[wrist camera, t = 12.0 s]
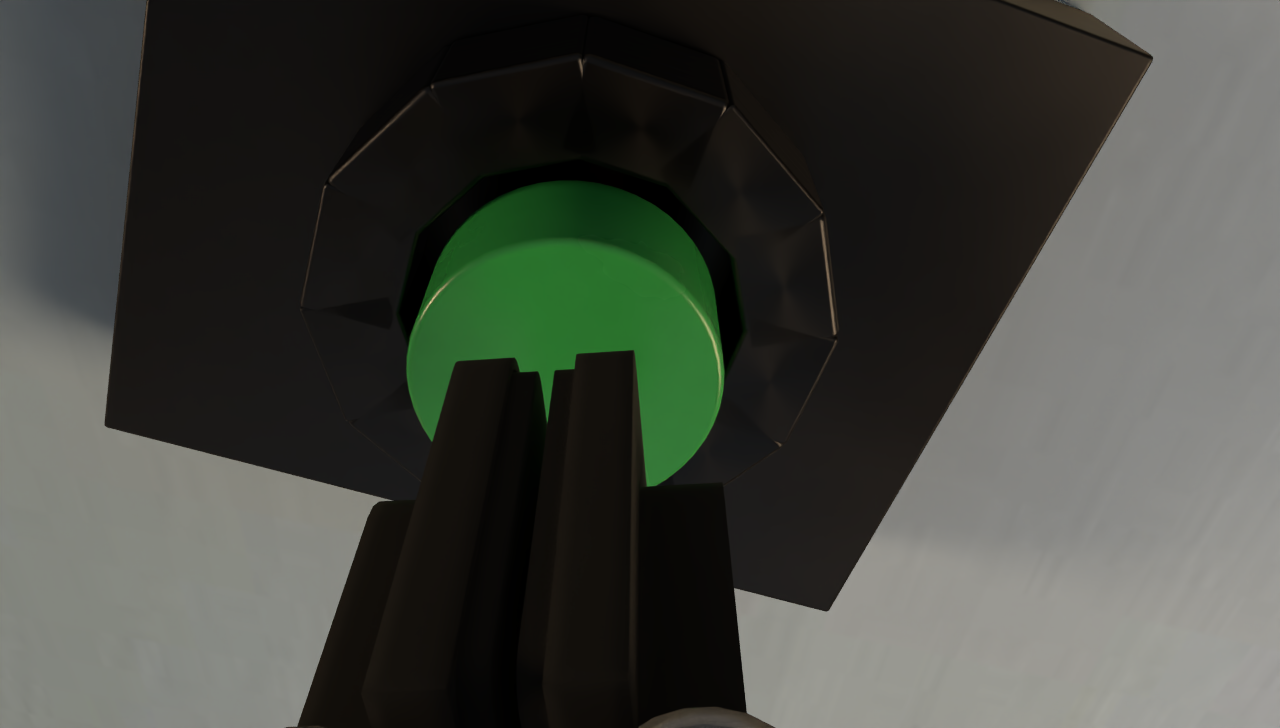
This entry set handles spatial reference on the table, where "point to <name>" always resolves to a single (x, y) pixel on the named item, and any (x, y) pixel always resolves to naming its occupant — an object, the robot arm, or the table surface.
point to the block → (619, 157)
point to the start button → (577, 307)
